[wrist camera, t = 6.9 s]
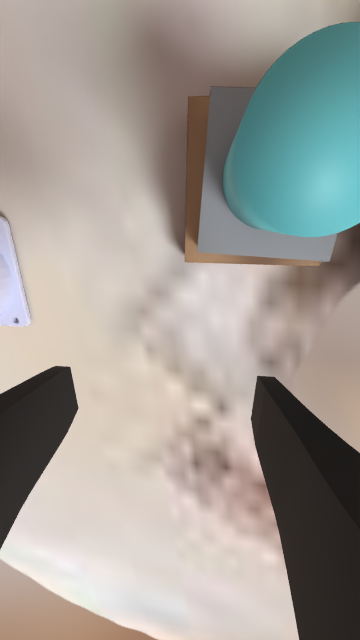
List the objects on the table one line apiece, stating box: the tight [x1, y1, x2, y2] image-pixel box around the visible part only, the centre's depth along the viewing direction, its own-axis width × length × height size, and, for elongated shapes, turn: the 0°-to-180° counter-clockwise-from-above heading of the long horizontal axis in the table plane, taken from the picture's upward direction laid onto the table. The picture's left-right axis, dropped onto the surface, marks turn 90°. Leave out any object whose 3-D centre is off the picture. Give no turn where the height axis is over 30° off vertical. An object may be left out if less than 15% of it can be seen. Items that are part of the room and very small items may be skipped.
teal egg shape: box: [222, 22, 360, 237], centre depth 9 cm, size 4×4×5 cm
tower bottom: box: [185, 96, 321, 266], centre depth 14 cm, size 8×8×2 cm
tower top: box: [197, 86, 338, 262], centre depth 12 cm, size 6×6×2 cm
